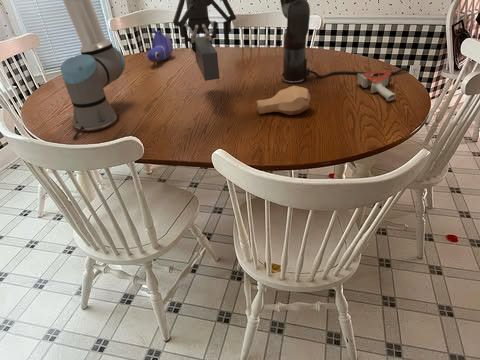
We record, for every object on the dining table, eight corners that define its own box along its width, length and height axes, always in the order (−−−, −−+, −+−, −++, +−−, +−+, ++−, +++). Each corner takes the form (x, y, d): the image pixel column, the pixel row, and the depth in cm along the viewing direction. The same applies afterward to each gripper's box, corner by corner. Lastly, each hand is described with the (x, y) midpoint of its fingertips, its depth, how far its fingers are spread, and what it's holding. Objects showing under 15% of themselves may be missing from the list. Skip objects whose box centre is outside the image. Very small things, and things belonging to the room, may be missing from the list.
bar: (219, 78, 128) (217, 52, 123) (205, 80, 127) (201, 54, 122) (208, 59, 146) (206, 35, 141) (196, 61, 146) (193, 37, 140)
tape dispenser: (391, 107, 134) (404, 85, 146) (394, 94, 130) (407, 73, 143) (345, 96, 141) (361, 77, 154) (348, 84, 138) (364, 65, 150)
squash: (314, 116, 128) (313, 95, 122) (259, 125, 130) (256, 105, 124) (308, 99, 136) (307, 78, 129) (257, 108, 138) (253, 88, 131)
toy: (161, 62, 200) (141, 68, 178) (157, 30, 193) (135, 32, 171) (177, 61, 198) (159, 67, 176) (173, 29, 191) (154, 30, 169)
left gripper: (237, -33, 112) (240, 38, 124) (157, -27, 107) (168, 46, 120) (243, -30, 106) (245, 43, 118) (159, -24, 101) (171, 52, 114)
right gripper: (214, 0, 134) (218, 46, 144) (176, 4, 132) (183, 50, 142) (217, 3, 128) (222, 51, 138) (178, 8, 126) (185, 56, 136)
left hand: (207, 45), depth 119 cm, fingers open, 13 cm apart
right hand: (202, 50), depth 140 cm, fingers closed on bar, 5 cm apart
